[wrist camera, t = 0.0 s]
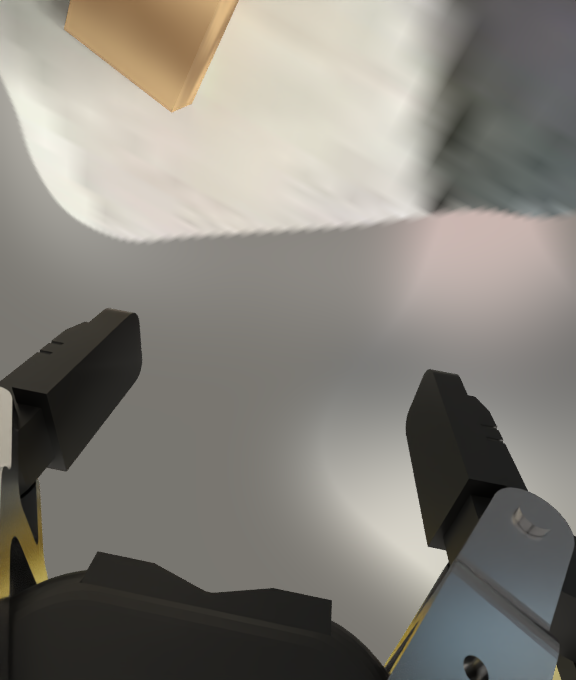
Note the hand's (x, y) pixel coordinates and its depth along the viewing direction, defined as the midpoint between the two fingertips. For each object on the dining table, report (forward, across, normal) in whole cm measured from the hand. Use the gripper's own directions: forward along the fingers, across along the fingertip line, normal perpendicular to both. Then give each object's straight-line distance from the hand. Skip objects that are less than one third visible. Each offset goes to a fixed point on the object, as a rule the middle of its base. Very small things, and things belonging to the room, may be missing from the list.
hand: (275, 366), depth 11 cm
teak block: (+22, +12, -10) cm, 26 cm away
